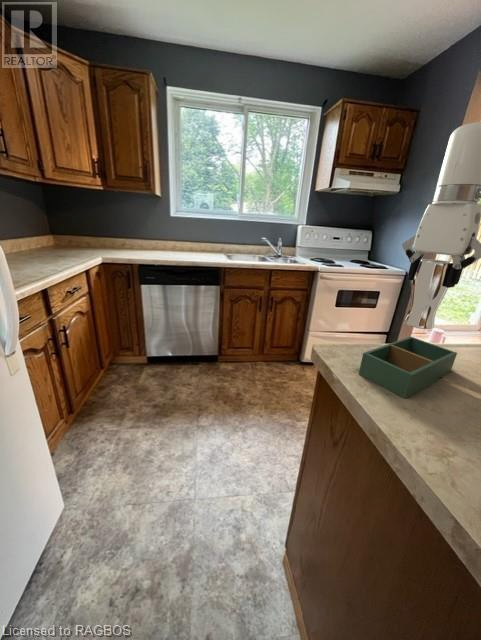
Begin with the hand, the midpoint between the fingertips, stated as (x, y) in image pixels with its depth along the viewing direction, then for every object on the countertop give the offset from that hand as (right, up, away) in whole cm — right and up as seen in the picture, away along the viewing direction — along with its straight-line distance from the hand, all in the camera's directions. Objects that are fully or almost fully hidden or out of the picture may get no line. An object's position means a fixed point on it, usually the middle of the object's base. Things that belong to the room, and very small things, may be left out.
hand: (430, 282), depth 61 cm
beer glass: (0, -10, +4) cm, 10 cm away
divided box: (-1, -22, +9) cm, 24 cm away
